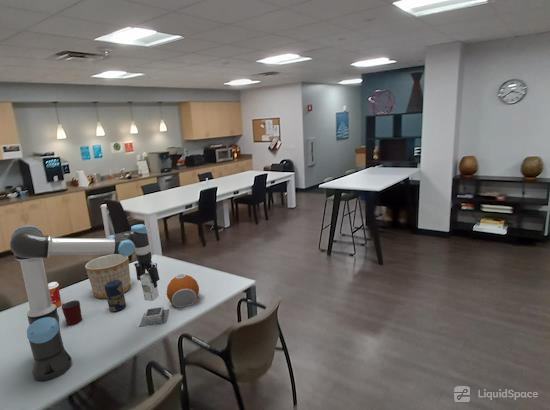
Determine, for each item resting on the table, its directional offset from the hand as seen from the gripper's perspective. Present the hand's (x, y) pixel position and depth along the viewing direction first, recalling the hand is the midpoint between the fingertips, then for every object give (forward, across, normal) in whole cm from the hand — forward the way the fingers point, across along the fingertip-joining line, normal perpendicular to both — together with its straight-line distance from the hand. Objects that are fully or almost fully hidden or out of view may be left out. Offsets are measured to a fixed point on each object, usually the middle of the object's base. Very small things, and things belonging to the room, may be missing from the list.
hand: (150, 292), depth 192 cm
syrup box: (+4, 0, 0) cm, 4 cm away
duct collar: (+16, 0, 0) cm, 16 cm away
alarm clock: (+16, -6, -20) cm, 26 cm away
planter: (+16, +53, -22) cm, 60 cm away
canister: (+16, +31, -4) cm, 35 cm away
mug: (+16, +47, +14) cm, 52 cm away
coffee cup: (+16, +75, +3) cm, 77 cm away
